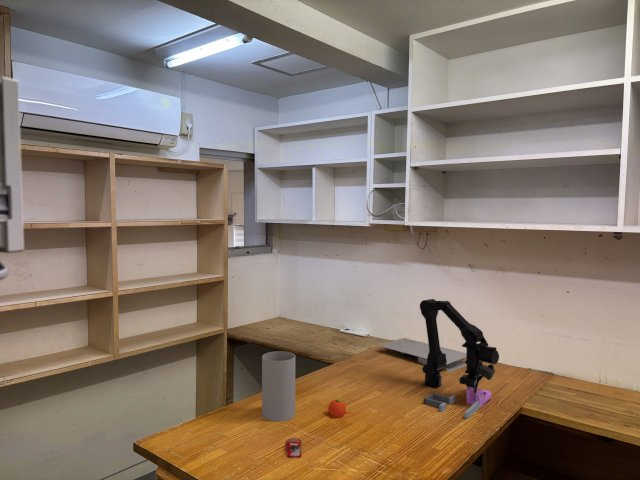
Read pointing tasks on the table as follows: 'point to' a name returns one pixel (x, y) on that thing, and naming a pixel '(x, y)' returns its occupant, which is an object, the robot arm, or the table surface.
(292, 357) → the cylinder vase
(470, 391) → the bracket
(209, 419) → the table surface
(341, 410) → the tomato
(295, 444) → the red labelled container
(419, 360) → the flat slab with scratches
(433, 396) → the trap pit
